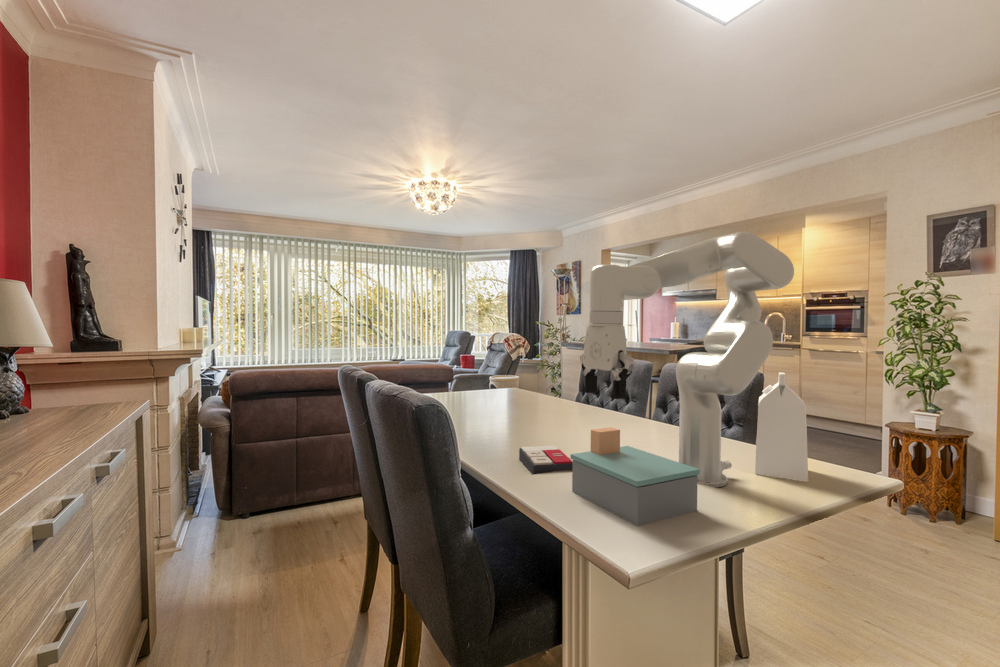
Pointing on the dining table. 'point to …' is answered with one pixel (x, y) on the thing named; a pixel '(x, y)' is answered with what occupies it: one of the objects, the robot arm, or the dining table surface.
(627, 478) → the lid
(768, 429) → the milk
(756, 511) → the dining table surface
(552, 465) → the calculator
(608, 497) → the tub
